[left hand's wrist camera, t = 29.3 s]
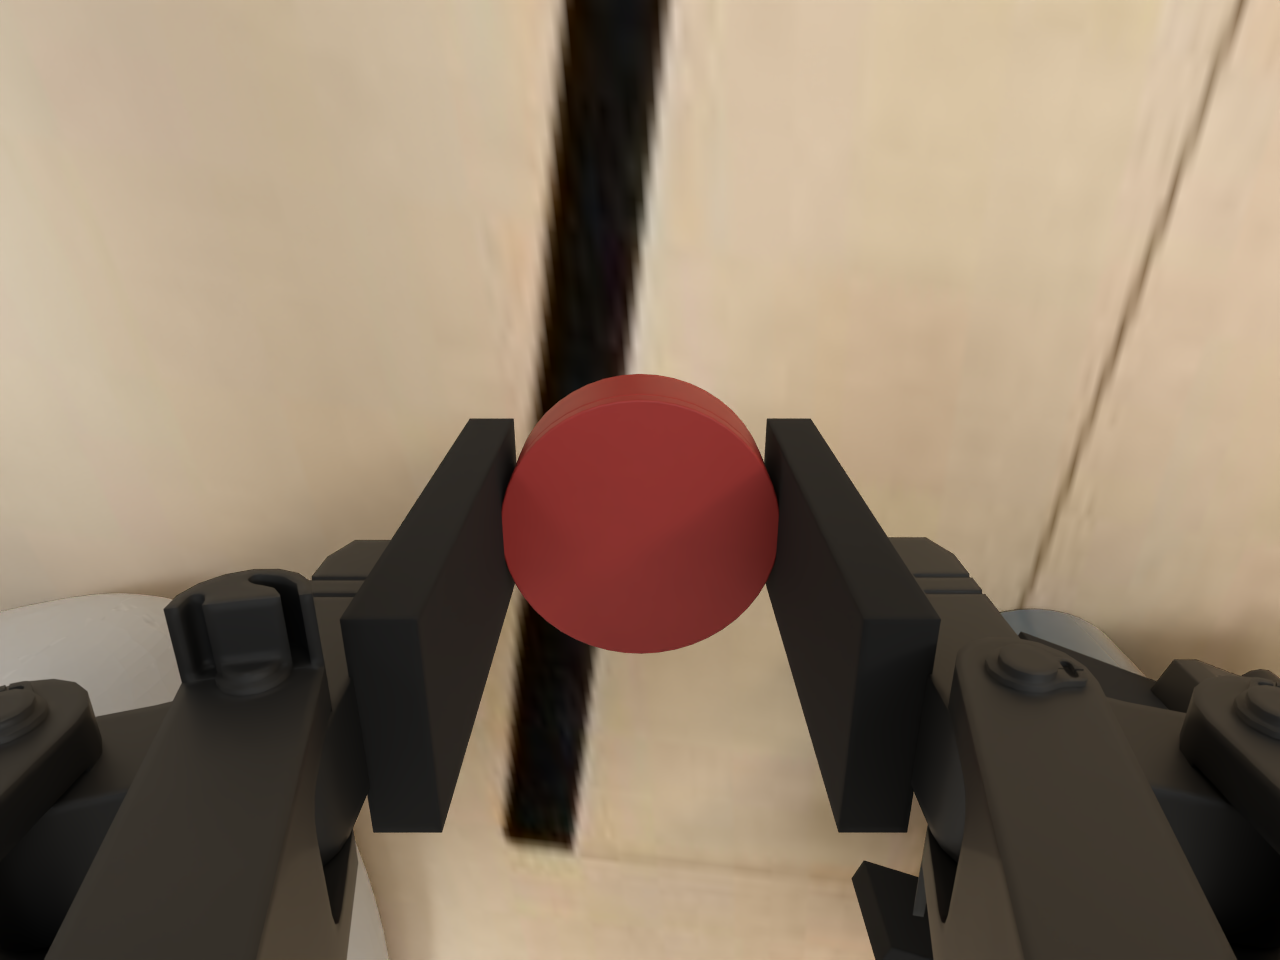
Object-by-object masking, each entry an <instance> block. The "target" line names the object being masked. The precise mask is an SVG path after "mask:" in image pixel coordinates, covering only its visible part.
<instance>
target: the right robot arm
mask: <svg viewBox="0 0 1280 960" xmlns="http://www.w3.org/2000/svg"><path fill="white" fill-rule="evenodd" d="M1018 636H1019V638H1020V639H1024V640H1029V641H1034V642H1039V643H1041V644H1044V645H1047V646H1049V647H1052V648H1054V649H1057V650H1059V651H1062V652H1064V653H1066V654H1068V655H1069V656H1071V657H1072V658H1074V659H1075V660H1077V661H1078V662H1080V663H1081V664H1083V665H1084V666H1086V667H1087V669H1088V670H1089V671H1090V672H1091V673H1092V675H1093V676H1094V677H1095V678H1096V679H1097V681H1098V682H1099V684H1100V686H1101V688H1102V690H1103V692H1104V694H1105V696H1106V697H1109V698H1113V699H1117V700H1121V701H1125V702H1130V703H1135V704H1140V705H1146V706H1151V707H1156V708H1161V709H1167V710H1172V711H1177V712H1183V713H1187V710H1188V706H1189V703H1190V700H1191V697H1192V693H1193V690H1194V687H1196V686H1197V685H1198V684H1200V683H1201V682H1202V681H1204V680H1205V679H1206V678H1212V677H1219V676H1225V675H1233V676H1238V675H1236V674H1233V673H1229V672H1228V671H1225V670H1222V669H1220V668H1216V667H1214V666H1212V665H1209V664H1207V663H1204V662H1201V661H1199V660H1173V661H1172V663H1171V664H1170V665H1169V667H1168V668H1167V669H1166V670H1165V672H1164V673H1163V674H1162V676H1161V677H1160V678H1159V679H1158V681H1154V680H1151V679H1149V678H1146V677H1143V676H1141V675H1138V674H1135V673H1132V672H1130V671H1127V670H1124V669H1122V668H1119V667H1116V666H1114V665H1111V664H1108V663H1105V662H1103V661H1100V660H1097V659H1095V658H1092V657H1089V656H1086V655H1084V654H1081V653H1078V652H1076V651H1073V650H1070V649H1068V648H1065V647H1062V646H1059V645H1057V644H1054V643H1051V642H1049V641H1046V640H1043V639H1040V638H1038V637H1035V636H1032V635H1030V634H1027V633H1024V632H1022V631H1021V632H1020V633H1019V635H1018ZM1242 676H1244V677H1259V678H1265V679H1270V680H1273V682H1275V683H1276V682H1277V681H1278V682H1280V678H1278V677H1277V676H1276V675H1275V674H1273V673H1272V672H1270V671H1269V670H1263V669H1259V670H1253V671H1250V672H1248V673H1246V674H1244V675H1242ZM918 879H919V877H916V876H913V875H909V874H906V873H903V872H900V871H896V870H893V869H890V868H887V867H884V866H880V865H877V864H874V863H871V862H867V861H863V863H862V864H861V866H860V867H859V868H858V870H857V871H856V873H855V874H854V876H853V877H852V881H853V885H854V888H855V892H856V895H857V898H858V902H859V905H860V909H861V912H862V915H863V919H864V922H865V926H866V929H867V932H868V936H869V939H870V943H871V946H872V949H873V953H874V956H875V960H934V959H933V951H932V943H931V934H930V926H929V918H928V910H927V902H926V907H925V912H924V917H920V916H914V915H913V909H914V903H915V897H916V891H917V885H918Z"/></svg>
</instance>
